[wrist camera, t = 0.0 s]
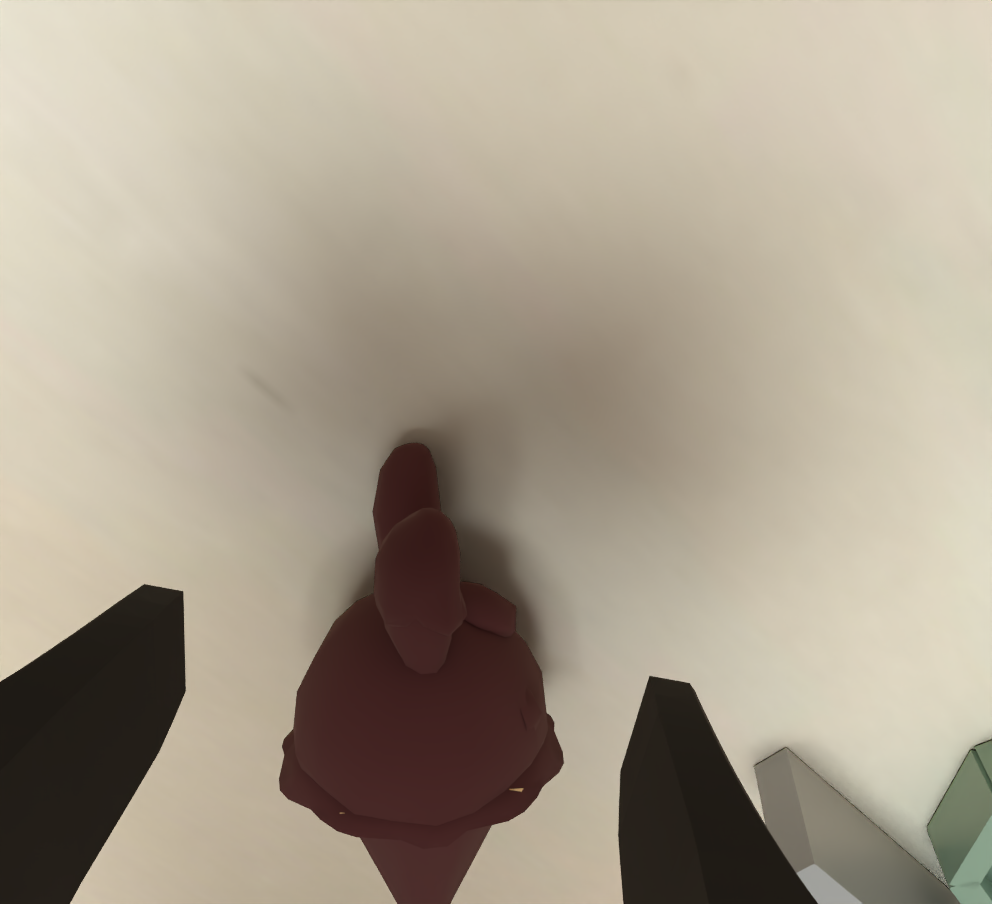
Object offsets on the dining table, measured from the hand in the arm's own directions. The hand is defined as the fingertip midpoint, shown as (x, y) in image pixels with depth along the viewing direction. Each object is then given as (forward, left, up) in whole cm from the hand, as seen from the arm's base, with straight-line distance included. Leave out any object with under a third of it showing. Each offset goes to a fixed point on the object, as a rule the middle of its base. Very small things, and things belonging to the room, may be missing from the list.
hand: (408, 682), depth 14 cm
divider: (-14, -16, -10) cm, 24 cm away
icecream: (-8, 0, -10) cm, 13 cm away
